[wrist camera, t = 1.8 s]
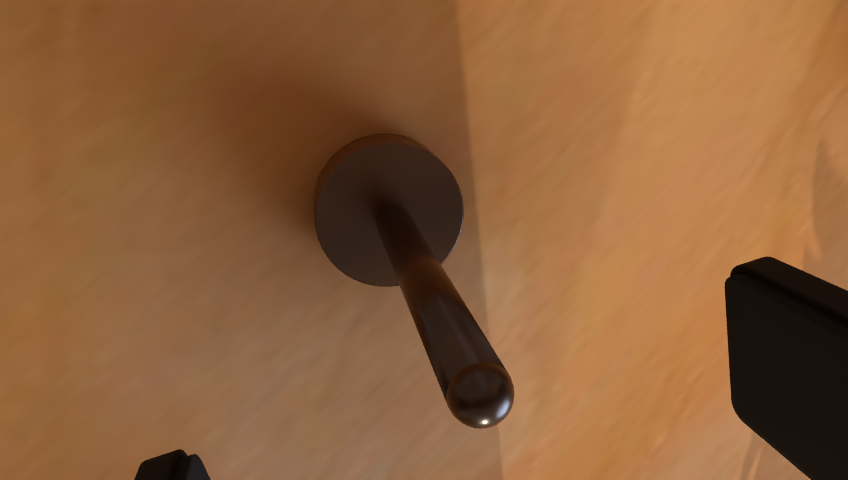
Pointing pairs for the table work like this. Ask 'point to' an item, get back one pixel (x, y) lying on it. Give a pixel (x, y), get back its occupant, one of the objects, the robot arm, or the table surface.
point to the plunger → (412, 259)
